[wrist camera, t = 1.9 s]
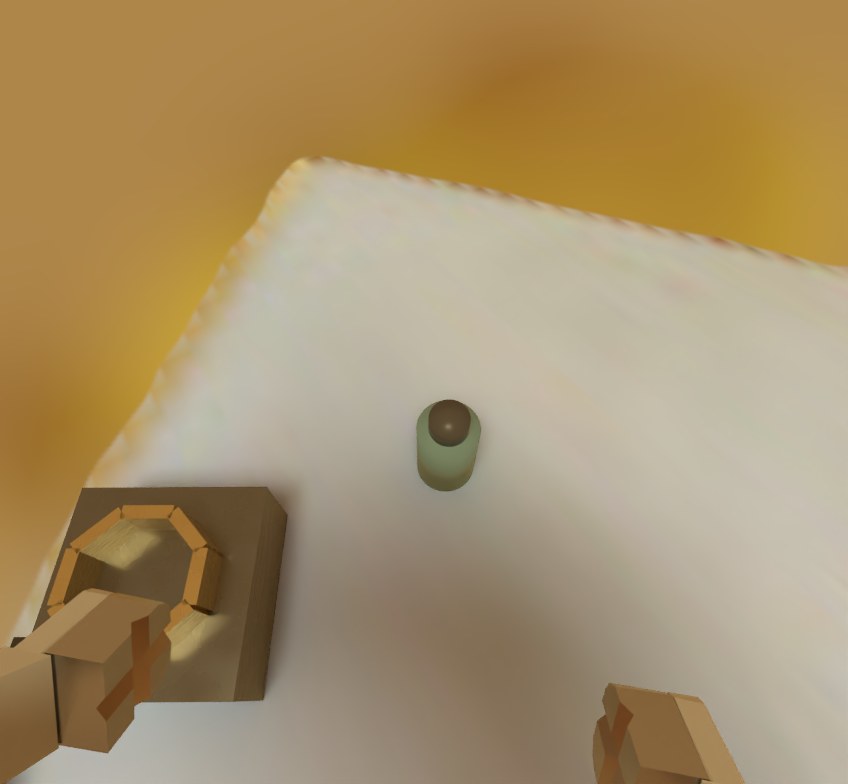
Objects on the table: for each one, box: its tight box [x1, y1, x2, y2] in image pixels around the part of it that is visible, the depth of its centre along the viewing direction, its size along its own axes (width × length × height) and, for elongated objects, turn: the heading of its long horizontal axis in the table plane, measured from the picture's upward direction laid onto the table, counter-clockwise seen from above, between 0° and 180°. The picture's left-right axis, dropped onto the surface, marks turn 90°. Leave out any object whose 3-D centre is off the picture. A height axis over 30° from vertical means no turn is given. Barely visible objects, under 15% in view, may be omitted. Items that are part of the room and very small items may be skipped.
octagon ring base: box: [10, 487, 287, 702], centre depth 32 cm, size 12×12×8 cm
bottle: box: [417, 400, 481, 491], centre depth 37 cm, size 4×4×8 cm
